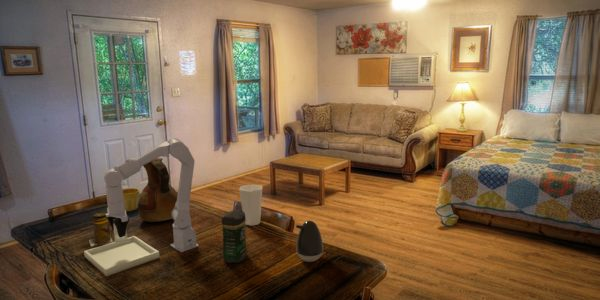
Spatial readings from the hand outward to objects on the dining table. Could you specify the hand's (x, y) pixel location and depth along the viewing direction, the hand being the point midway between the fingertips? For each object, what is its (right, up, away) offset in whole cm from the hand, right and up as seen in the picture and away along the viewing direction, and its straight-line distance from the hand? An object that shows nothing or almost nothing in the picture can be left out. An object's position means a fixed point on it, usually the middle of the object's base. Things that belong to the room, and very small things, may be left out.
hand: (119, 234), depth 160 cm
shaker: (0, -3, +1) cm, 3 cm away
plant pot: (-19, +2, +57) cm, 60 cm away
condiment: (-15, -7, +17) cm, 24 cm away
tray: (0, -9, +2) cm, 9 cm away
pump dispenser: (+73, -9, -2) cm, 74 cm away
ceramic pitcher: (+2, -1, +41) cm, 41 cm away
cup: (+47, -2, +35) cm, 59 cm away
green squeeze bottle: (+45, -9, 0) cm, 46 cm away
